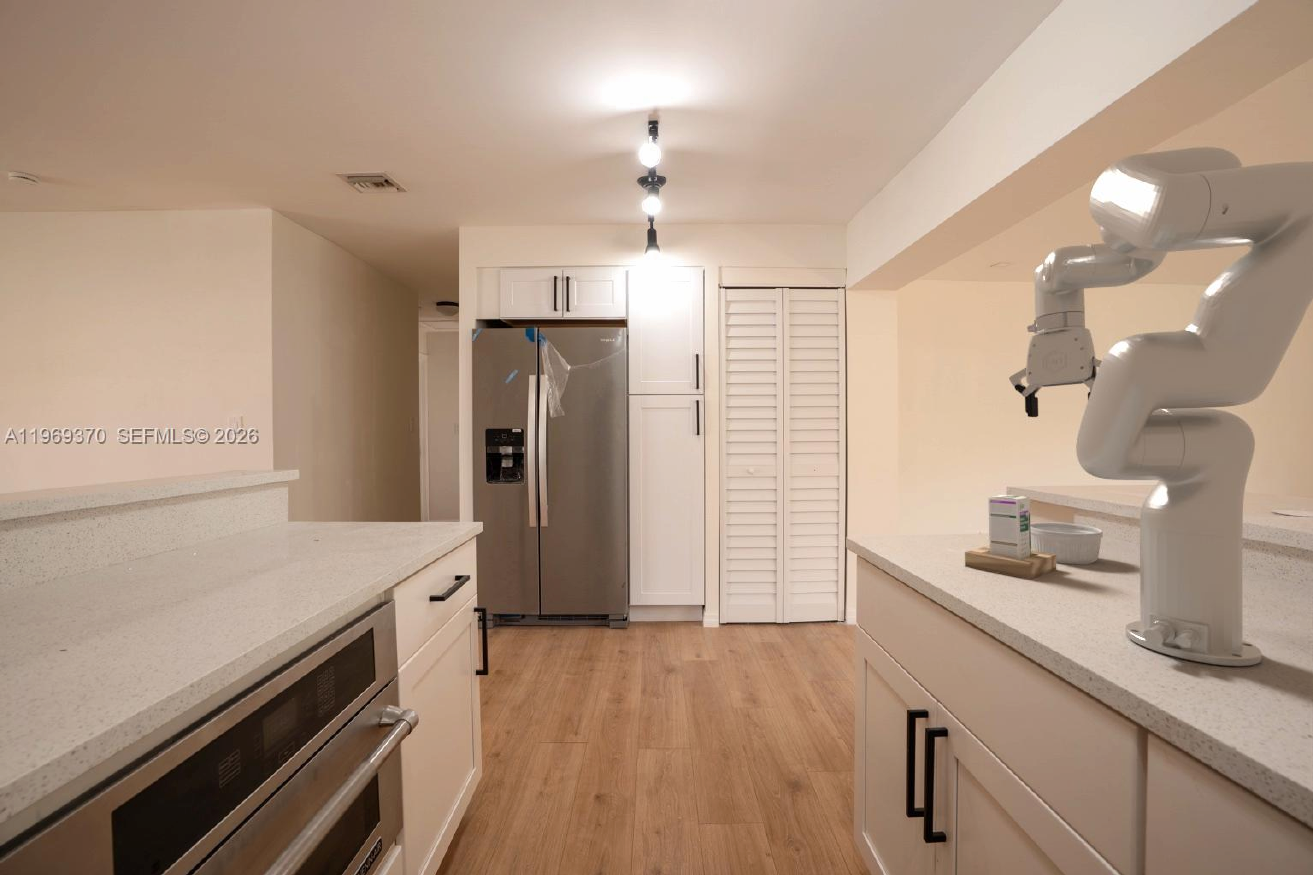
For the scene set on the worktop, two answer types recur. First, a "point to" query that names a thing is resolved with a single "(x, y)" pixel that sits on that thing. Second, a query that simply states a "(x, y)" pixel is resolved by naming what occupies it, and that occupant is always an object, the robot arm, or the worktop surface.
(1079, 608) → the worktop surface
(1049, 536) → the ramekin
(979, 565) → the holder block
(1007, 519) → the syrup box
